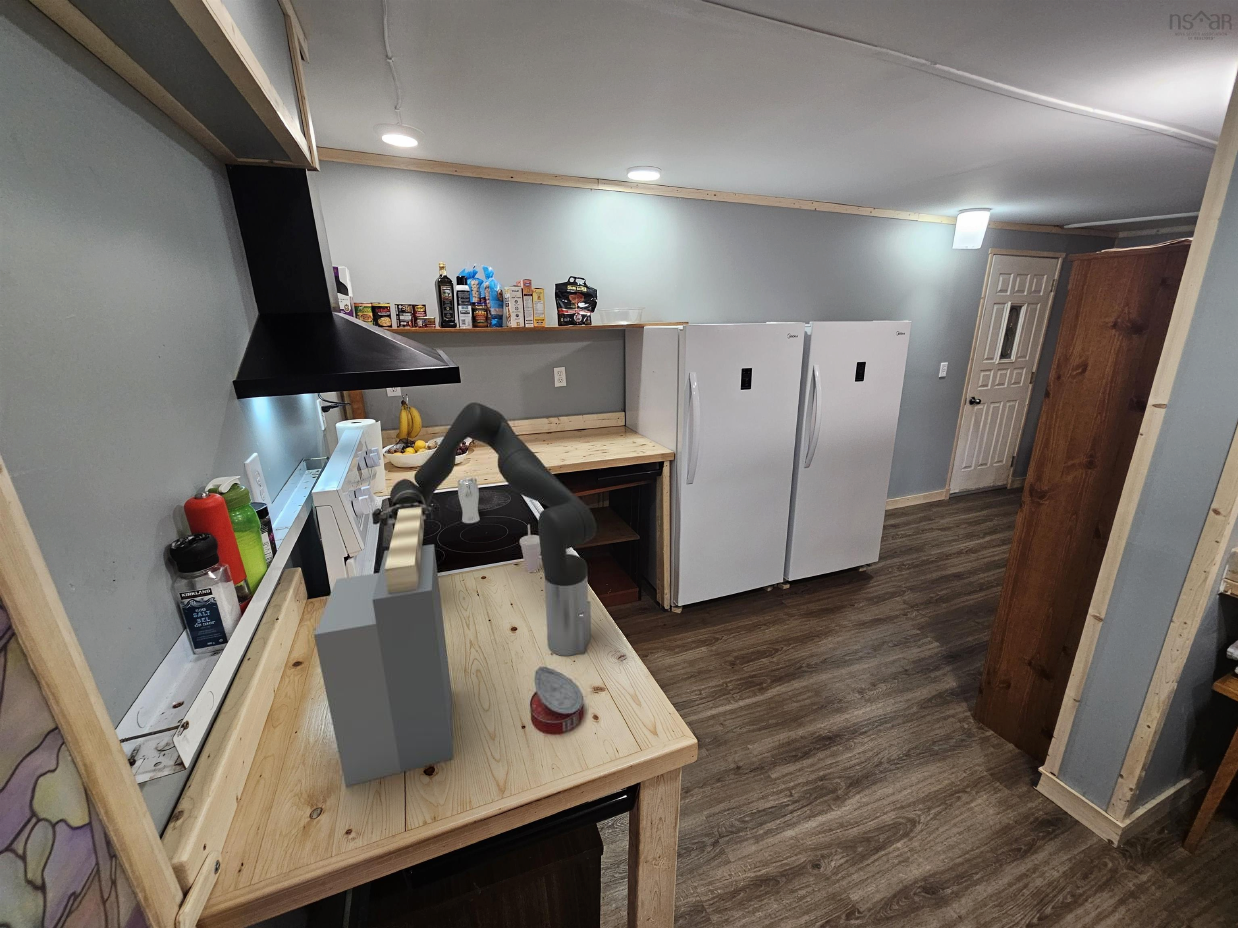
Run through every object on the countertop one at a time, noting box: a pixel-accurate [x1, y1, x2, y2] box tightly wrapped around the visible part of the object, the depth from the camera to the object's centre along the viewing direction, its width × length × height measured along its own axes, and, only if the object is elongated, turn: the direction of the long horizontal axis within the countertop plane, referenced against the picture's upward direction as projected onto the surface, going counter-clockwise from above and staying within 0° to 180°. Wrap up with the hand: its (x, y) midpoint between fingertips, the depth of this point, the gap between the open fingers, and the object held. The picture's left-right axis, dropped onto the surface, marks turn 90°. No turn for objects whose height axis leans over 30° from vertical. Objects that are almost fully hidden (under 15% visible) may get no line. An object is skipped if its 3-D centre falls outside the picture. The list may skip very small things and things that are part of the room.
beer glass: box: [457, 477, 480, 524], centre depth 176 cm, size 7×7×15 cm
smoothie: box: [519, 524, 541, 573], centre depth 141 cm, size 6×6×14 cm
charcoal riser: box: [313, 544, 454, 788], centre depth 82 cm, size 16×16×32 cm
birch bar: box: [385, 507, 425, 594], centre depth 83 cm, size 24×4×4 cm, turn 19°
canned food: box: [529, 666, 584, 736], centre depth 91 cm, size 11×10×10 cm
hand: (406, 519), depth 107 cm, fingers open, 8 cm apart
